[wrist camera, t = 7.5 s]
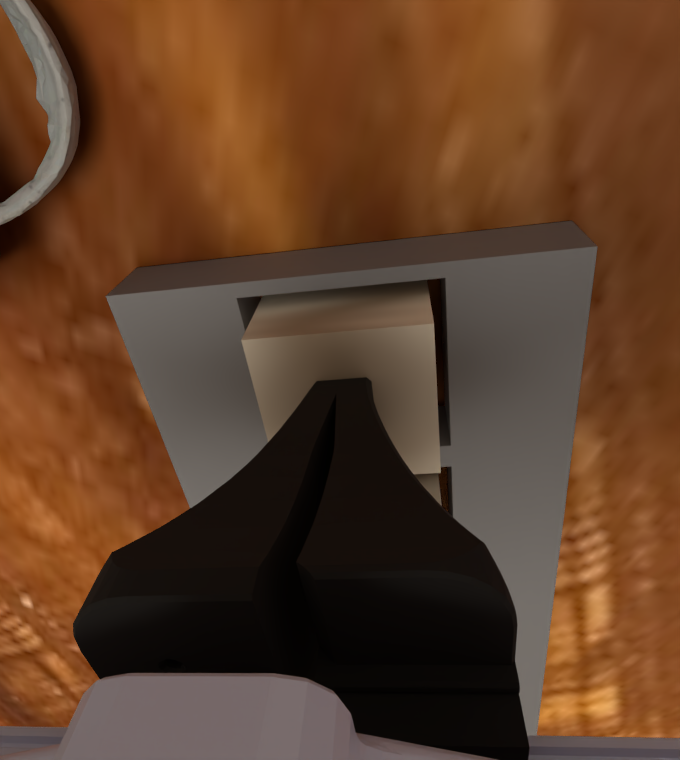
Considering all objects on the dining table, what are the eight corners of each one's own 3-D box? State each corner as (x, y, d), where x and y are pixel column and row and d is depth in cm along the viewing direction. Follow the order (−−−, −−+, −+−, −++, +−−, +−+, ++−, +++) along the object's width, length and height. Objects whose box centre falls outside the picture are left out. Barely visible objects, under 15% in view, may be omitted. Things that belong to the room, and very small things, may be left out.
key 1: (425, 269, 14) (434, 326, 12) (432, 402, 17) (441, 475, 14) (267, 285, 15) (239, 342, 12) (295, 412, 17) (277, 483, 15)
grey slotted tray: (571, 220, 14) (597, 246, 12) (525, 702, 26) (535, 747, 25) (136, 267, 15) (105, 296, 14) (289, 699, 28) (283, 742, 26)
